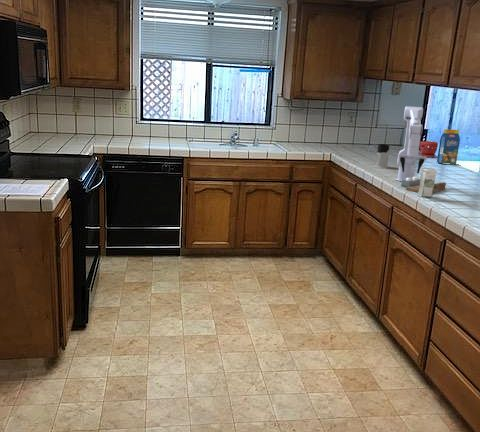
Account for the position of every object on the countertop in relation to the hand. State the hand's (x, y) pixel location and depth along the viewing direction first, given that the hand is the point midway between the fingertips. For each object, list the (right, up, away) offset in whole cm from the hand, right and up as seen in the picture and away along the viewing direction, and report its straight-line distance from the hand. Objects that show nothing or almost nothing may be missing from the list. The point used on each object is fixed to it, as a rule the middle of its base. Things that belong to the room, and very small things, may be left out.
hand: (410, 172), depth 277 cm
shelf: (+12, -9, +10) cm, 18 cm away
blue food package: (+60, +15, +103) cm, 120 cm away
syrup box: (+6, -13, -5) cm, 15 cm away
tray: (+6, -6, +17) cm, 19 cm away
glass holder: (+2, +10, +77) cm, 77 cm away
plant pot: (+57, +24, +132) cm, 146 cm away
